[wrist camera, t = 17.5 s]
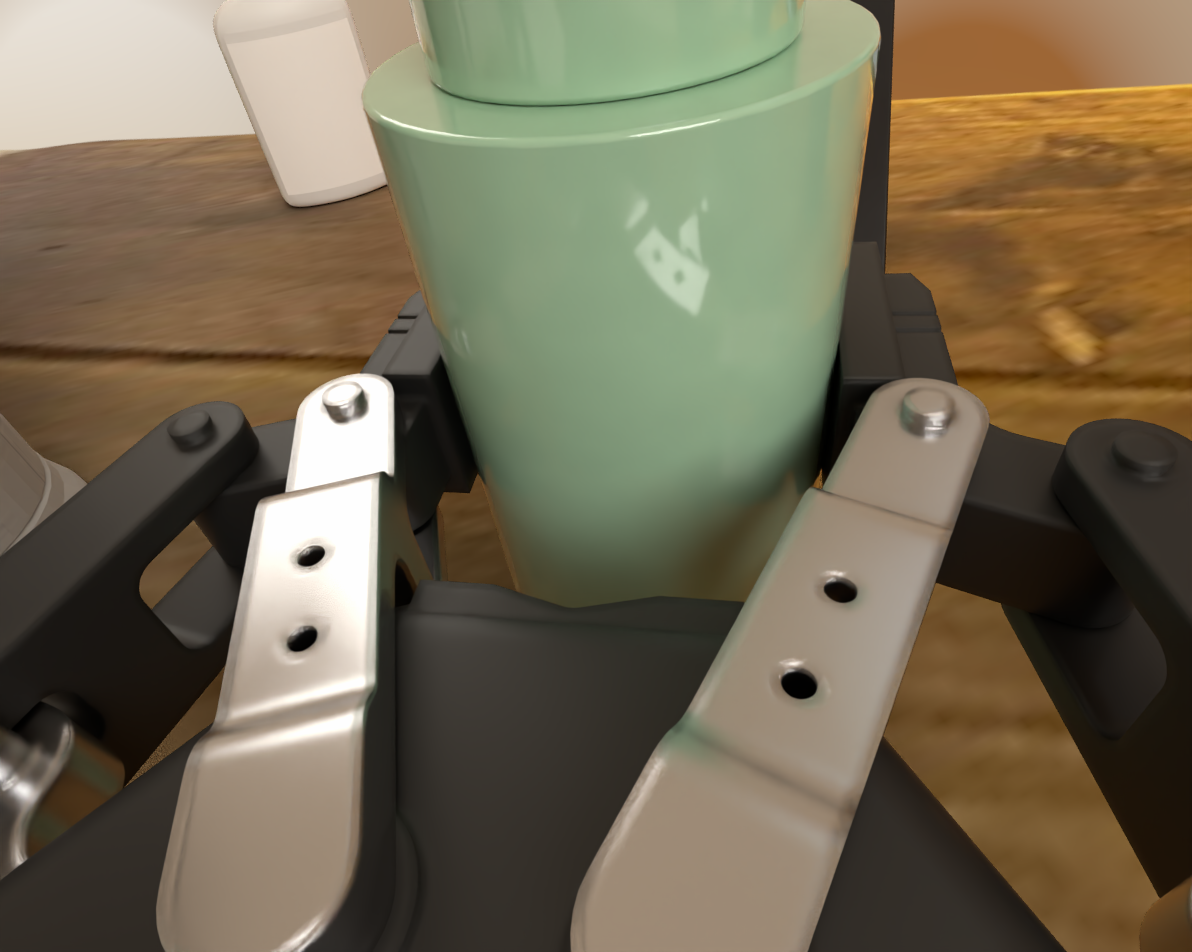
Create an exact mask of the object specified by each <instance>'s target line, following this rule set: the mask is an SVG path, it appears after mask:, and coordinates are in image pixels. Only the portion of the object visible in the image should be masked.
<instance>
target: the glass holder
mask: <svg viewBox="0 0 1192 952" xmlns="http://www.w3.org/2000/svg"><path fill="white" fill-rule="evenodd" d="M86 485H87V483H86V482H85V481H84V480H83V479H81V478H80V477H79V476H78V475H77V474H76V473H75V472H73V471H72V470H70V469H68V468H66V467H63V466H61V465H59V464H57V463H54V462H52V461H50V460H47V459H45V458H43V457H42V456H41V455H40V454H38V453H37V452H36V451H34V450H33V449H32V448H31V447H30V446H29V445H28V443H27V442H26V441H25V440H24V439H23V438H22V437H21V435H20V434H19V433H18V432H17V431H16V430H15V429H14V428H13V426H12V425H11V424H10V423H9V422H8V421H7V420H6V418H5V417H4V416H3V415H2V414H1V413H0V556H2V555H3V554H4V553H5V552H6V551H8V550H9V549H10V548H11V547H12V546H14V545H15V544H16V543H17V542H18V541H20V540H21V539H22V538H23V537H24V536H26V535H27V534H28V533H29V532H30V531H32V530H33V529H34V528H35V527H36V526H38V525H39V524H40V523H41V522H42V521H44V520H45V519H46V518H47V517H48V516H50V515H51V514H52V513H53V512H54V511H56V510H57V509H58V508H59V507H60V506H62V505H63V504H64V503H65V502H66V501H68V500H69V499H70V498H71V497H72V496H74V495H75V494H76V493H77V492H78V491H80V490H81V489H82V488H83V487H84V486H86Z"/></svg>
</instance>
